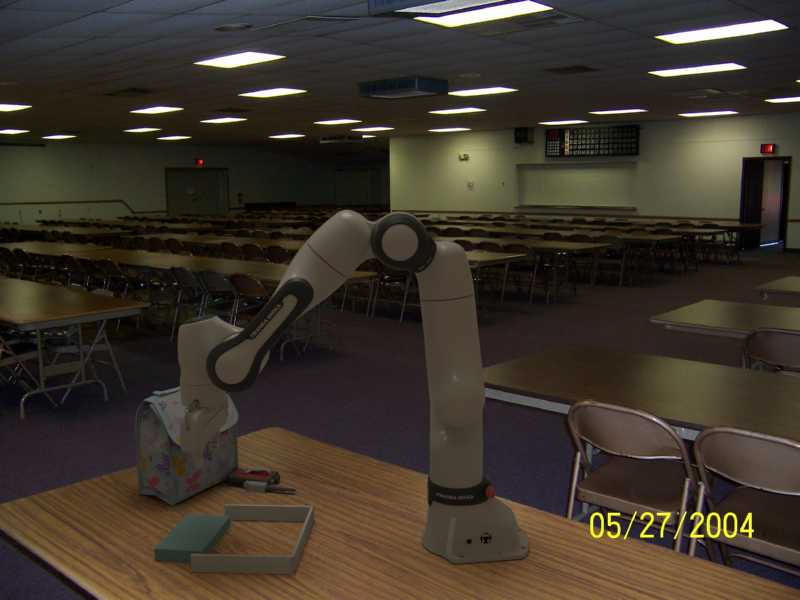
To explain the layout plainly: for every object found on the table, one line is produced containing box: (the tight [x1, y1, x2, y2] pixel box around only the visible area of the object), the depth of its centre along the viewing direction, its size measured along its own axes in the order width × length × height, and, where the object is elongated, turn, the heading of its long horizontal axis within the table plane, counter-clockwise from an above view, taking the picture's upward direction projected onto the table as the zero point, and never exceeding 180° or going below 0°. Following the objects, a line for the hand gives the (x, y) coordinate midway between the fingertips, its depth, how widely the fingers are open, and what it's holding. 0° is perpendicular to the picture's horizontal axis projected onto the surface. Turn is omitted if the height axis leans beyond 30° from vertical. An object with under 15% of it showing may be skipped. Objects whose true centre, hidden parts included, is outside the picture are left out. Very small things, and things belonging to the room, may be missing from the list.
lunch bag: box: [134, 385, 239, 506], centre depth 179 cm, size 22×17×26 cm
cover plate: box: [154, 513, 231, 564], centre depth 152 cm, size 10×16×3 cm, turn 173°
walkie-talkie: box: [223, 466, 297, 494], centre depth 182 cm, size 9×4×20 cm
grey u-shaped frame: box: [190, 503, 315, 575], centre depth 151 cm, size 20×23×4 cm
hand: (207, 458), depth 149 cm, fingers open, 8 cm apart
